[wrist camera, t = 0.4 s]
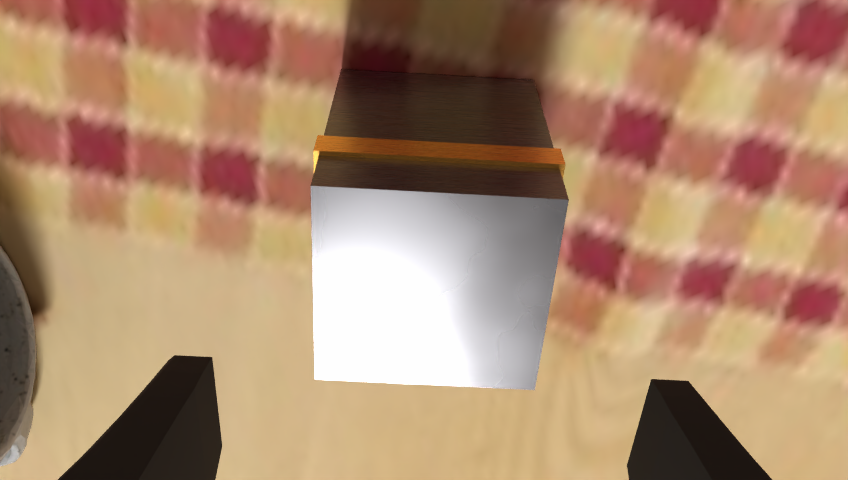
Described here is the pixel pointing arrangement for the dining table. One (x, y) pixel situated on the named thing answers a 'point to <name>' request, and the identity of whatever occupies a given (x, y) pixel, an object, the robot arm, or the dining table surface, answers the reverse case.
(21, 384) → the ceramic mug
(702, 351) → the dining table surface
